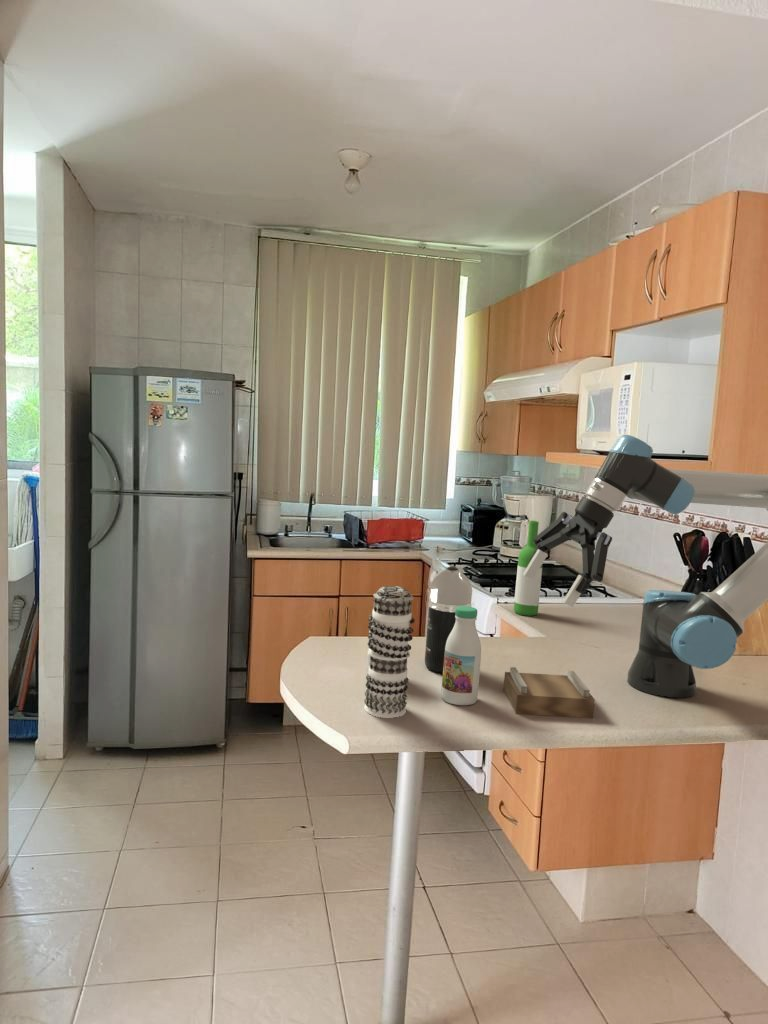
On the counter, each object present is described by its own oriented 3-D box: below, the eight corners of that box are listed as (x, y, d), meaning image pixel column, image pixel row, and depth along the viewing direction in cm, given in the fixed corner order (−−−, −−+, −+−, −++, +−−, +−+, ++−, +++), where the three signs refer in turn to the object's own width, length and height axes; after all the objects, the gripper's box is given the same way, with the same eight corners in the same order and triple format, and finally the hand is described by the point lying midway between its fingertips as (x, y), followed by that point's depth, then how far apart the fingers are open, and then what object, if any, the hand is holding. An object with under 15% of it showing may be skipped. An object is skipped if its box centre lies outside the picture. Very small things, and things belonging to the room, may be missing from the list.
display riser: (573, 693, 164) (576, 669, 164) (592, 717, 150) (595, 692, 150) (503, 689, 164) (505, 665, 163) (515, 713, 150) (518, 687, 149)
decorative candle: (379, 697, 154) (387, 581, 151) (416, 709, 148) (425, 589, 146) (353, 709, 146) (361, 587, 143) (391, 722, 141) (400, 596, 138)
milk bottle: (454, 690, 161) (461, 601, 159) (484, 700, 156) (492, 609, 154) (433, 698, 155) (441, 607, 153) (464, 709, 150) (472, 615, 148)
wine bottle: (509, 610, 238) (517, 519, 234) (531, 610, 240) (540, 520, 236) (519, 616, 230) (527, 522, 227) (541, 616, 232) (550, 523, 229)
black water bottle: (428, 675, 170) (436, 569, 167) (419, 660, 180) (427, 561, 177) (471, 675, 171) (480, 571, 168) (459, 661, 181) (468, 562, 178)
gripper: (550, 479, 162) (501, 561, 164) (632, 518, 141) (574, 611, 143) (571, 492, 166) (523, 572, 168) (653, 532, 145) (597, 622, 147)
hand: (546, 590), depth 155 cm, fingers open, 13 cm apart
